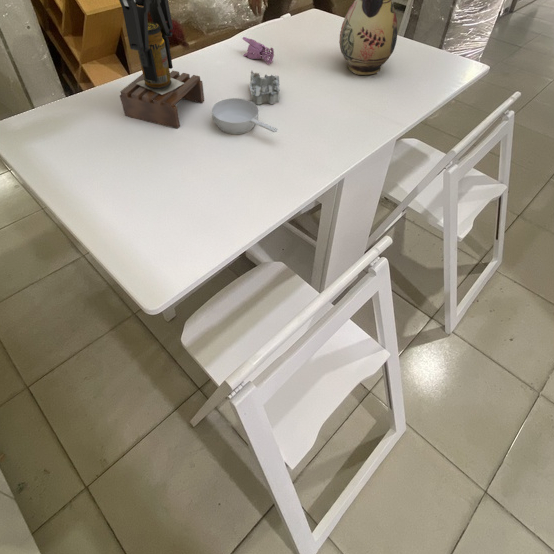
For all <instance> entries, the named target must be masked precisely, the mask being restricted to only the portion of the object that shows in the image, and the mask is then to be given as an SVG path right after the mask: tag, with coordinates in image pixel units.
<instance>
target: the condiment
mask: <svg viewBox="0 0 554 554" xmlns="http://www.w3.org/2000/svg"><path fill="white" fill-rule="evenodd" d="M148 39H149V49H152V53H153V58H154V63H155V68H156V73H157V78H158V81H156V82H155V81H151V80H146V79H145V75H144V70H143V66H142V64H141V60H140V56H139V52H138V51H137V53H138V54H137V55H138V58H139V62H140V67H141V73H142V74H143V77H144V80H142V81H140V82H138V83H136V84H138V85H140V86H143V87H144V88H147V89H149V90H152V91H154V92H156V93H159V94H161V95H163V94H166V93H167V92H169V91H172V90H174V89H176V88H177V87H179V86H181V85H182V84H184V83H183V82H180V81H179V80H176V79H173V78H171V77H170V72H171V71H170V69H169V66H168V59H167V54H166V48H165V41H164V39H163V38H162V34H161V28H160V26H159V25H158V24H157V23H154V22H153V21H148Z"/></svg>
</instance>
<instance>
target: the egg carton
mask: <svg viewBox="0 0 554 554" xmlns="http://www.w3.org/2000/svg"><path fill="white" fill-rule="evenodd" d="M249 89H250V93H251V94H250V95H251V102H253V103H254V104H256V105H262V104H264V103H267V104H270V105H275V104H276V103H279V98H280V93H279V92H280V90H281V87H280V76H279V75H276V74H275V75H274V74H271V75H267V74H264V76H263V77H261V75H260V73H258V72H254V71H253V70H251V71H250V81H249Z"/></svg>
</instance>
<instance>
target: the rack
mask: <svg viewBox="0 0 554 554" xmlns="http://www.w3.org/2000/svg"><path fill="white" fill-rule="evenodd" d="M170 77H171V78H173V79H176V80H179V81H180V82H183V83H184V84H182V85H181V86H179V87H177V88H176V89H174V90H172V91H169V92H167V93H166V94H163V95H161V94H159V93H156V92H154V91H152V90H149V89H147V88H144V87H143V86H140V85H138V84H136V83H138V82H140V81H142V80H144V77H143V73H142V74H141V75H139V76H138V77H137V78H136V79H134V80H132V82H130V83H129V84H128V85H126V86H125V87H124V88H123V89H122V90H120V91H119V92H120V94H119V99H120V102H121V106H122V111H123V113H124V116H125V117H128V118H131V119H136V120H140V121H141V120H142V121H144V122H148V123H153V124H157V125H160V126H165V127H169V128H174V129H179V128H180V127H181V122H180V118H179V109H178V105H176V104H177V103H179V101H181V100H186V101H190V102H195V103H199V104H203V103H204V102H205V93H204V85H203V80H201V76H200V75H196V74H193V75H191V76H190V73H186V72H182V73H180V71H177V70H172V71H170Z"/></svg>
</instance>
